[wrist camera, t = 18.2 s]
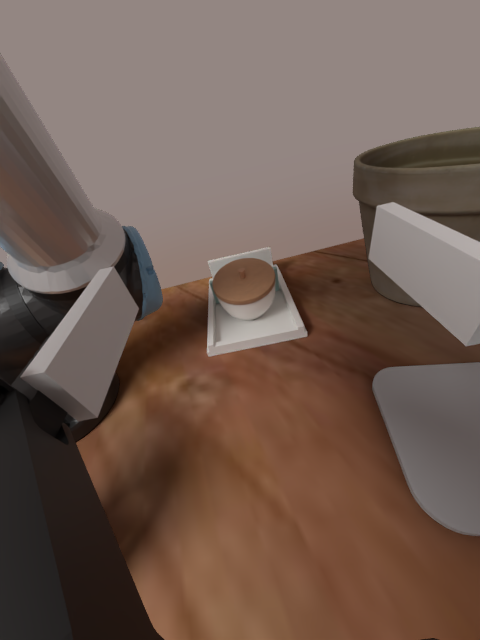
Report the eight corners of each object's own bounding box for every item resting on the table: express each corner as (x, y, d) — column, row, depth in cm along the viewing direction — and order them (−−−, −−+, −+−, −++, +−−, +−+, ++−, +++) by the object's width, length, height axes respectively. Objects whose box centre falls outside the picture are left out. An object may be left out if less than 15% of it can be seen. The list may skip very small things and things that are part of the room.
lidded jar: (223, 292, 51) (211, 255, 44) (275, 285, 49) (271, 245, 42) (221, 333, 44) (206, 297, 37) (281, 326, 43) (277, 288, 35)
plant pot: (430, 241, 55) (469, 119, 41) (560, 303, 35) (714, 111, 22) (323, 270, 55) (325, 157, 41) (394, 346, 36) (443, 182, 22)
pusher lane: (307, 336, 40) (306, 303, 36) (208, 356, 42) (195, 326, 37) (279, 273, 57) (276, 245, 53) (210, 288, 59) (201, 262, 54)
